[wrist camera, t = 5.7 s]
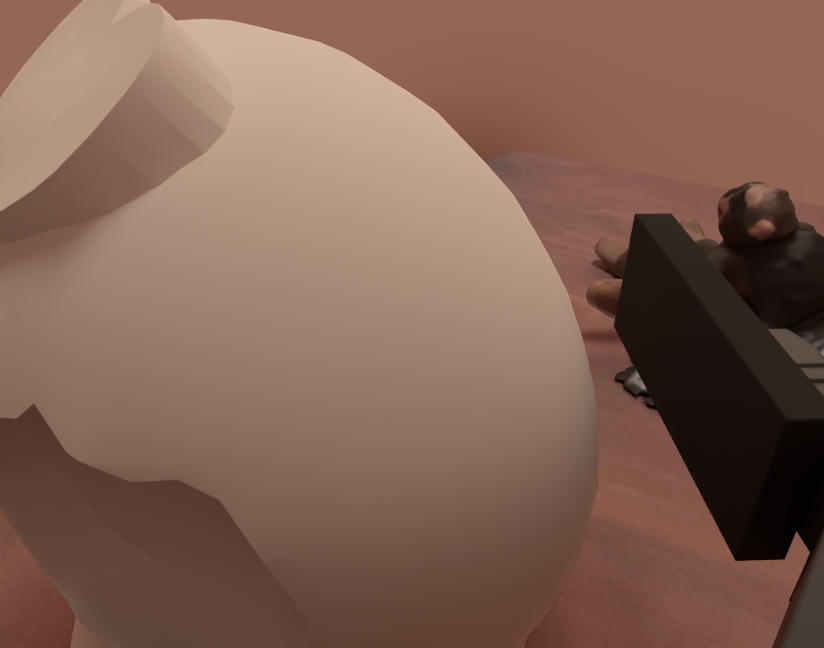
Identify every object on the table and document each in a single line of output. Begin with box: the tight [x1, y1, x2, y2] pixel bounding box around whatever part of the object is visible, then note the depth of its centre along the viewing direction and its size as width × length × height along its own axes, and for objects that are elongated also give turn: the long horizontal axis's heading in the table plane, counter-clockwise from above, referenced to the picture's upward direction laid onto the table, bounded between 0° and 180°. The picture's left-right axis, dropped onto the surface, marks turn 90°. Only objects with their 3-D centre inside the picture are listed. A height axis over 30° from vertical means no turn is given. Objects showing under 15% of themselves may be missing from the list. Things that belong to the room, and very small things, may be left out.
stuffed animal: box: [586, 182, 824, 406], centre depth 30 cm, size 12×10×12 cm
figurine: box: [0, 0, 599, 648], centre depth 15 cm, size 11×11×15 cm
